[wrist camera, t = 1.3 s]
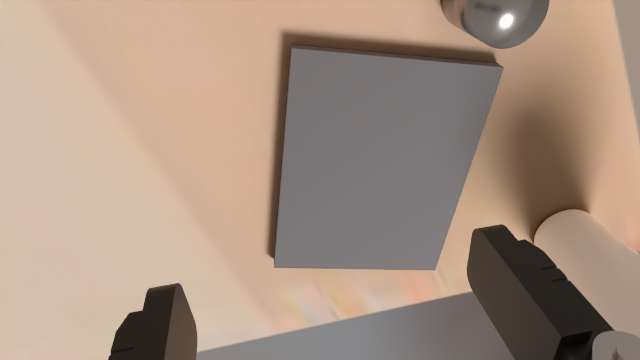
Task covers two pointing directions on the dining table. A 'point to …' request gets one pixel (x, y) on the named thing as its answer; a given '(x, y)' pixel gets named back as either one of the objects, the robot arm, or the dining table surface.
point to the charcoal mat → (376, 156)
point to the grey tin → (497, 19)
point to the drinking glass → (595, 265)
